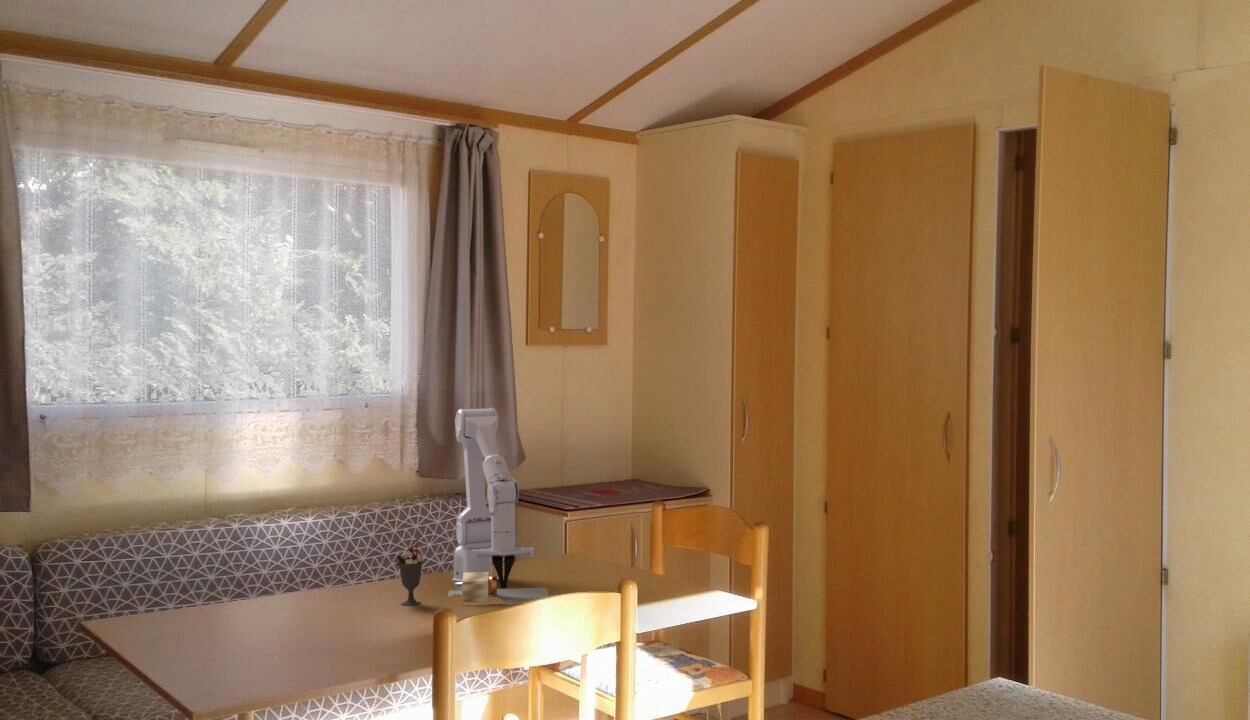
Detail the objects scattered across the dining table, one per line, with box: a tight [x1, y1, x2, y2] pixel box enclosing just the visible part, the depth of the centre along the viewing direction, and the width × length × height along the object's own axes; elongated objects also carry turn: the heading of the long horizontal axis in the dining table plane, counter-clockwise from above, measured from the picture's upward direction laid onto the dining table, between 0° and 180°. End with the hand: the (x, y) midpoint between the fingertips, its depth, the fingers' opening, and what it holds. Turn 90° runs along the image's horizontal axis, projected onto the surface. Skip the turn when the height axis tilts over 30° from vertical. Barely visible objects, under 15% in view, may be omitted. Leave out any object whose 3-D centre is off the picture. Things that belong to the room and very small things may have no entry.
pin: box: [453, 575, 498, 595], centre depth 269 cm, size 10×4×4 cm, turn 96°
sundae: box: [395, 539, 426, 607], centre depth 264 cm, size 7×7×15 cm
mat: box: [445, 587, 549, 608], centre depth 270 cm, size 24×16×1 cm, turn 96°
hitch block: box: [462, 572, 489, 602], centre depth 269 cm, size 6×10×5 cm, turn 6°
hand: (503, 587), depth 270 cm, fingers closed
